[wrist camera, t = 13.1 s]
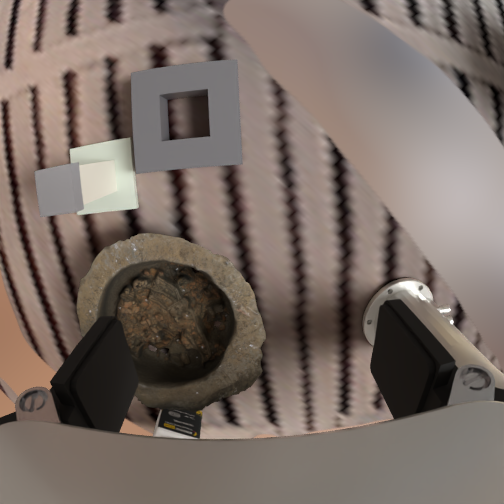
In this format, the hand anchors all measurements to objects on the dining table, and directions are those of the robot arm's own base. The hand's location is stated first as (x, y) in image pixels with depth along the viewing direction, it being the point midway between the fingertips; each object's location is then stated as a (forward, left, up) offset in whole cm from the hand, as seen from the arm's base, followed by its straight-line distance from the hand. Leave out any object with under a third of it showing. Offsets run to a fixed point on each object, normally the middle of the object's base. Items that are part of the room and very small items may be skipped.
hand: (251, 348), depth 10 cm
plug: (+18, -5, -29) cm, 34 cm away
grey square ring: (+6, -11, -29) cm, 32 cm away
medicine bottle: (+14, +37, -30) cm, 50 cm away
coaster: (+18, -5, -29) cm, 35 cm away
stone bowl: (+11, +14, -30) cm, 35 cm away
